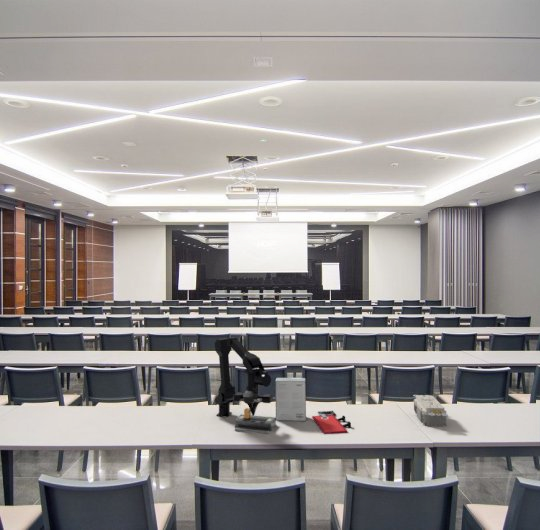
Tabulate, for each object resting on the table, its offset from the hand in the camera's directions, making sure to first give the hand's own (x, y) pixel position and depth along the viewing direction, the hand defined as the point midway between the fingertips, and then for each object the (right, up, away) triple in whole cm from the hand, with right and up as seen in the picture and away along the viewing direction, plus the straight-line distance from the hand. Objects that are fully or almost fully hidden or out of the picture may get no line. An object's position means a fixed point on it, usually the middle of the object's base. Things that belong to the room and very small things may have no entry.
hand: (253, 415), depth 203 cm
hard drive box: (+19, -6, +11) cm, 23 cm away
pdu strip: (+1, -5, -1) cm, 5 cm away
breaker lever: (-3, -1, +1) cm, 3 cm away
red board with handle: (+38, -6, +6) cm, 39 cm away
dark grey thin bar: (-1, -5, -7) cm, 8 cm away
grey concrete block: (+89, -6, +8) cm, 90 cm away
